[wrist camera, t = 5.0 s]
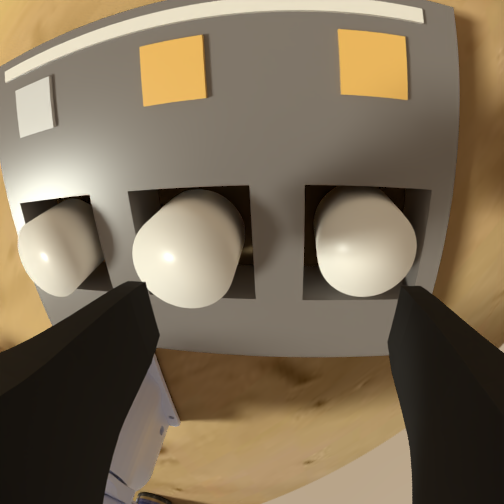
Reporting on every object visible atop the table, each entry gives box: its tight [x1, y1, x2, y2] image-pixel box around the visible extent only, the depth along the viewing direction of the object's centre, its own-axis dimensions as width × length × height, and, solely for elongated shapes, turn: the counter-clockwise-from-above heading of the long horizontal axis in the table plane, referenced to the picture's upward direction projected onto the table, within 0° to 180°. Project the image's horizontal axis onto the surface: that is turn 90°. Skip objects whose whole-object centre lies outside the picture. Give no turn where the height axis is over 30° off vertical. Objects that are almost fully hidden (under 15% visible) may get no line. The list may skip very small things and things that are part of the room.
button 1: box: [313, 185, 417, 297], centre depth 13 cm, size 4×4×3 cm
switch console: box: [0, 0, 460, 357], centre depth 13 cm, size 16×21×3 cm
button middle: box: [132, 189, 245, 308], centre depth 13 cm, size 4×4×3 cm
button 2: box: [18, 199, 105, 297], centre depth 14 cm, size 4×4×3 cm
